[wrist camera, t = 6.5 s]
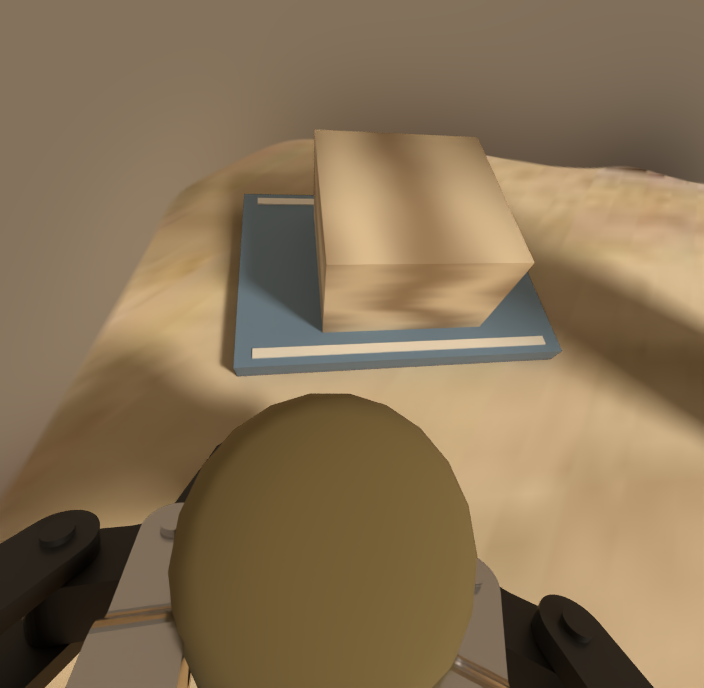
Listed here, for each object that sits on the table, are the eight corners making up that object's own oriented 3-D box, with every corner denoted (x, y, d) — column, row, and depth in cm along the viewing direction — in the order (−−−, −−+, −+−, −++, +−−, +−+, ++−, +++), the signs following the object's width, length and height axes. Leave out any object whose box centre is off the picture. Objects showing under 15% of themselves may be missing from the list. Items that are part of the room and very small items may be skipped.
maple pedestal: (443, 215, 26) (477, 137, 21) (479, 326, 21) (534, 262, 16) (313, 213, 24) (314, 129, 19) (322, 332, 20) (326, 264, 15)
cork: (267, 444, 16) (192, 321, 6) (394, 463, 16) (519, 373, 6) (229, 603, 13) (-37, 864, 3) (384, 624, 13) (590, 935, 3)
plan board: (488, 211, 28) (496, 198, 27) (550, 359, 22) (563, 350, 21) (247, 207, 26) (244, 192, 24) (237, 376, 19) (232, 367, 18)
